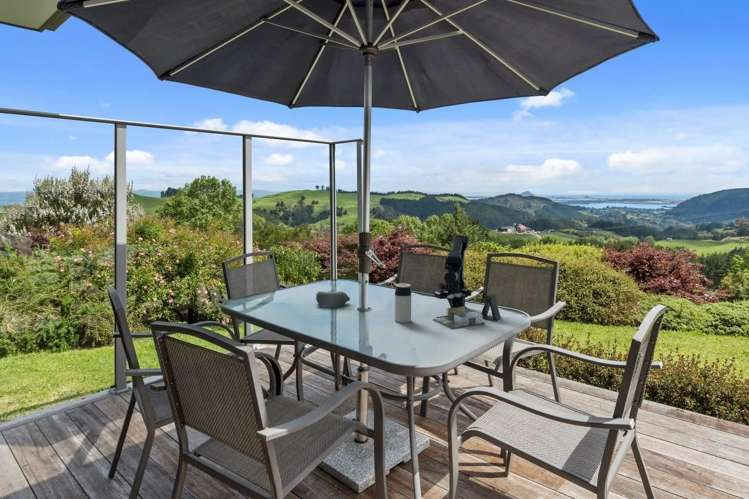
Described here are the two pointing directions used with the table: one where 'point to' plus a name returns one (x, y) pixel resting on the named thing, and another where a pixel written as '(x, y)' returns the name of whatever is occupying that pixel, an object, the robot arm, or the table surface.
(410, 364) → the table surface
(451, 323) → the frame
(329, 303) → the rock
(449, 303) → the robot arm
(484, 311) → the phone stand
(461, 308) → the plate
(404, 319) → the travel mug
